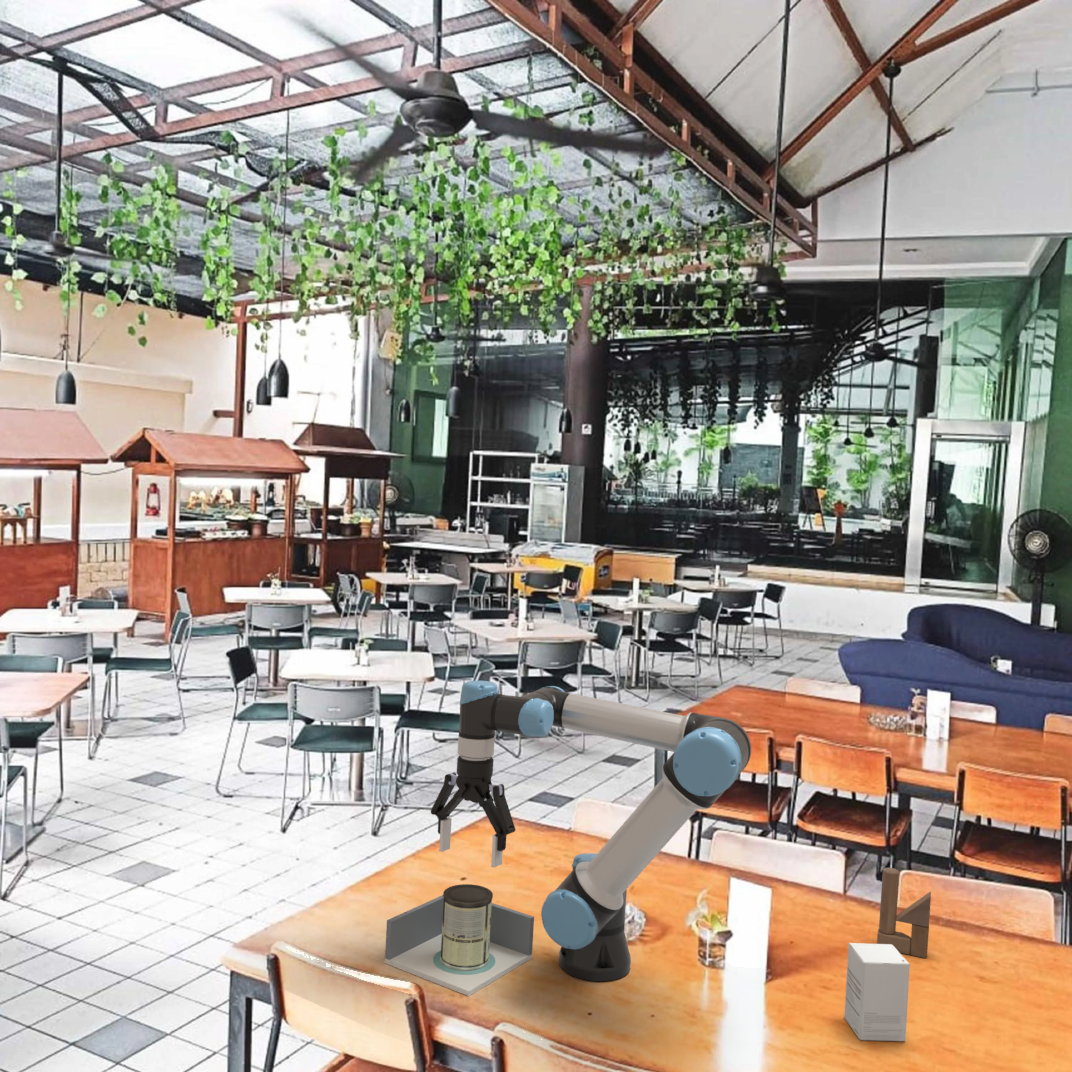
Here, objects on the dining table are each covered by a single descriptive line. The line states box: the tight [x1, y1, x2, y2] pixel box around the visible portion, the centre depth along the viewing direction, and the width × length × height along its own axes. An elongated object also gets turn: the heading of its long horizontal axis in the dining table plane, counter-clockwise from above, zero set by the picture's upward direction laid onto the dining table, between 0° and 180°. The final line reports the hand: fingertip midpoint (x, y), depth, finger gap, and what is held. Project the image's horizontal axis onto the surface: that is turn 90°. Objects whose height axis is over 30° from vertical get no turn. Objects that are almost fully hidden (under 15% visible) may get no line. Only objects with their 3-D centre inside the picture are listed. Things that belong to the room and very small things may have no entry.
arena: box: [384, 894, 535, 997], centre depth 213 cm, size 22×22×9 cm
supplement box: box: [843, 942, 911, 1042], centre depth 194 cm, size 9×9×15 cm
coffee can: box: [440, 883, 494, 971], centre depth 211 cm, size 10×10×14 cm
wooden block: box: [876, 867, 932, 959], centre depth 231 cm, size 4×11×18 cm, turn 68°
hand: (470, 857), depth 211 cm, fingers open, 13 cm apart
